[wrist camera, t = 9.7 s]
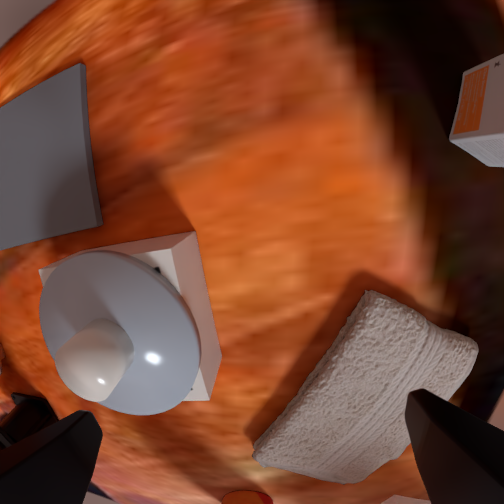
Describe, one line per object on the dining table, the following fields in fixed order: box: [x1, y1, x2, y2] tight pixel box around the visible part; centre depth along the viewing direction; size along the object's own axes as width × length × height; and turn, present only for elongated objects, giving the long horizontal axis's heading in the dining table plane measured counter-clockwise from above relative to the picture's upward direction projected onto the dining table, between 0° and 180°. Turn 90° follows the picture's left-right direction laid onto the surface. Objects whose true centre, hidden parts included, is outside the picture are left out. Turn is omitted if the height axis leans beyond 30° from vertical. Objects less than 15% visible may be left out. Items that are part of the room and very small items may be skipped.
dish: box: [39, 231, 222, 401], centre depth 18 cm, size 9×9×5 cm
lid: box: [39, 250, 202, 415], centre depth 14 cm, size 10×10×4 cm
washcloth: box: [252, 290, 479, 484], centre depth 21 cm, size 12×18×3 cm, turn 154°
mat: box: [0, 63, 103, 250], centre depth 19 cm, size 12×12×1 cm
